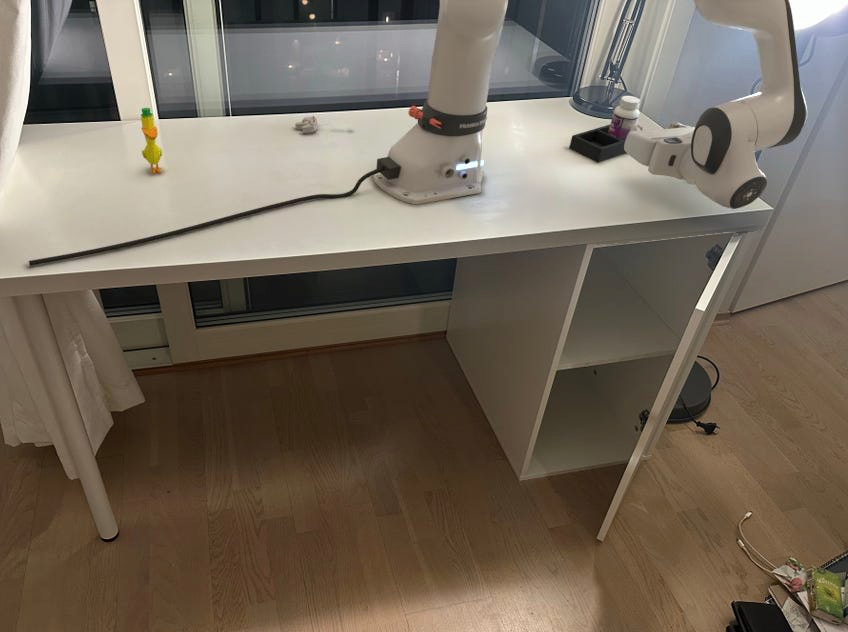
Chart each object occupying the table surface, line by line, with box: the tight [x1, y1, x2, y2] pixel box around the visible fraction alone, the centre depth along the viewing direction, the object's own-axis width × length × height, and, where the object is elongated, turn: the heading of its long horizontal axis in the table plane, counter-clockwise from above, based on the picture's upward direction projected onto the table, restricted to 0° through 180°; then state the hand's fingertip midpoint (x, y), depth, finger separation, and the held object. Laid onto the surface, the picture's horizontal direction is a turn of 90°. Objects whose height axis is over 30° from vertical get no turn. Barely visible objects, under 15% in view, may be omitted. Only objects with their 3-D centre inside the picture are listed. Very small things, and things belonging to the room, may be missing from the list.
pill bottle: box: [608, 95, 641, 140], centre depth 154 cm, size 5×5×10 cm
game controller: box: [294, 115, 350, 134], centre depth 154 cm, size 6×12×3 cm, turn 109°
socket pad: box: [568, 124, 627, 164], centre depth 155 cm, size 8×15×3 cm, turn 126°
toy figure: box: [140, 107, 163, 175], centre depth 131 cm, size 7×4×12 cm, turn 24°
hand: (653, 127), depth 145 cm, fingers open, 8 cm apart
